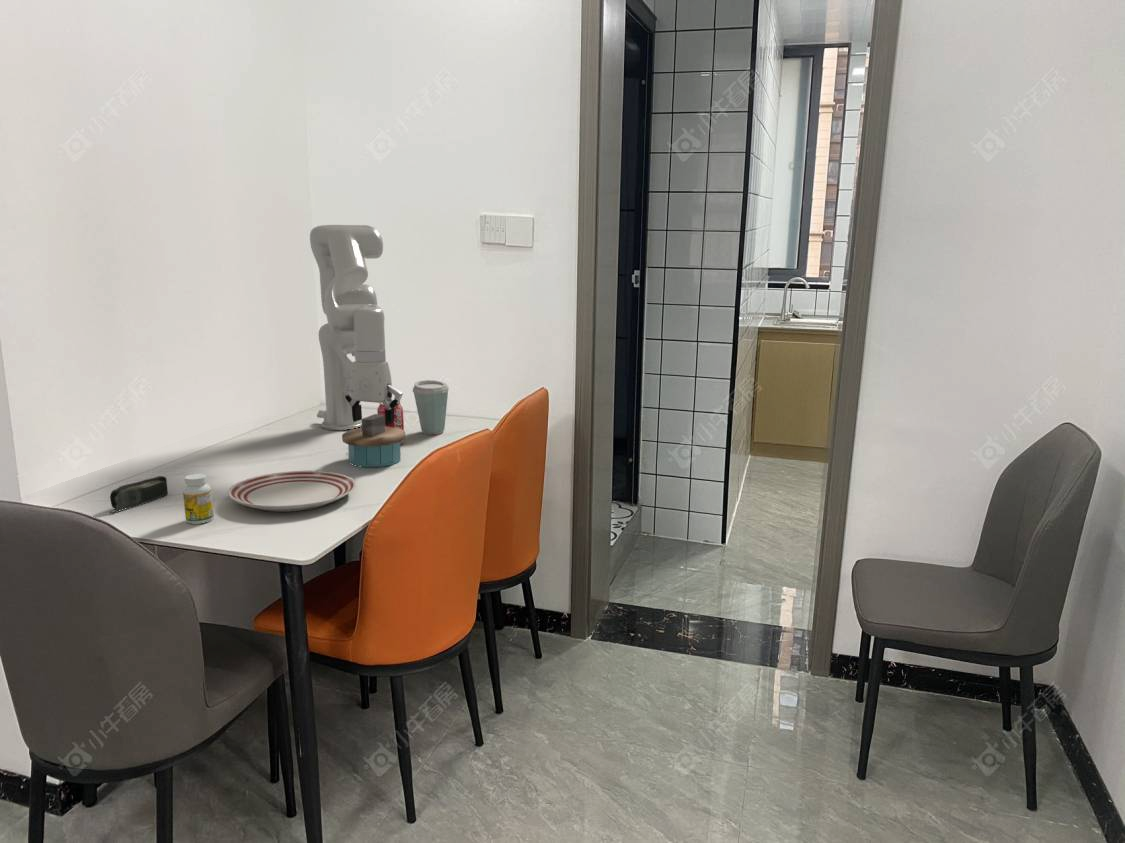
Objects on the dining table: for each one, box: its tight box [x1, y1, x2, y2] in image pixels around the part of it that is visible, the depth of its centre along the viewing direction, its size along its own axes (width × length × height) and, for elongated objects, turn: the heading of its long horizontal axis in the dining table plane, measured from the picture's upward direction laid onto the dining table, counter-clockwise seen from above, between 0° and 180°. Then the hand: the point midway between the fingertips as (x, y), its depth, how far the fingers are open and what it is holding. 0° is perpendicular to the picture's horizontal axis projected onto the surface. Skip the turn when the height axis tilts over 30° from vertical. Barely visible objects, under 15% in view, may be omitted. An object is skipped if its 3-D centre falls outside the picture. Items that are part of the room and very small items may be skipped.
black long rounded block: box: [109, 475, 169, 514], centre depth 185 cm, size 5×3×15 cm
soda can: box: [376, 402, 405, 445], centre depth 235 cm, size 7×7×12 cm
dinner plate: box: [227, 470, 357, 513], centre depth 190 cm, size 28×27×3 cm
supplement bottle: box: [182, 473, 214, 525], centre depth 175 cm, size 5×5×10 cm
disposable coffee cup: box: [412, 379, 450, 435], centre depth 248 cm, size 11×11×15 cm
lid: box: [341, 413, 406, 446], centre depth 218 cm, size 16×16×6 cm
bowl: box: [347, 442, 402, 468], centre depth 219 cm, size 13×13×6 cm
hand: (373, 422), depth 218 cm, fingers open, 9 cm apart
